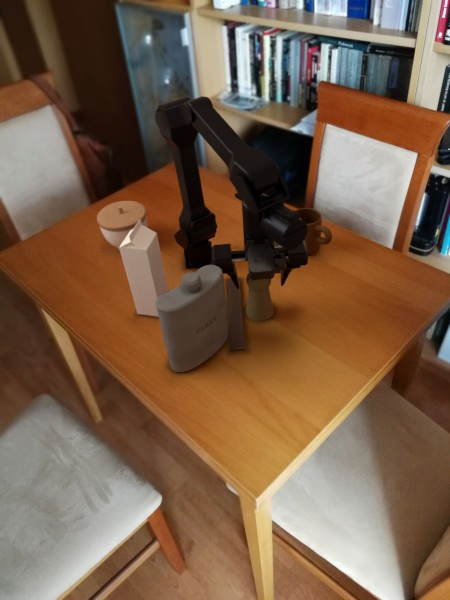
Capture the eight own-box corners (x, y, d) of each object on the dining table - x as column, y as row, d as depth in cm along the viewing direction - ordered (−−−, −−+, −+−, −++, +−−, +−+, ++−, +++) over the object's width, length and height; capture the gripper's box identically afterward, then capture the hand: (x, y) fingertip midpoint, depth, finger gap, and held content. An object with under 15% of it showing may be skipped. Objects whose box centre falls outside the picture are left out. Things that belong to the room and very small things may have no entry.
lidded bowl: (160, 243, 126) (153, 208, 119) (117, 262, 122) (106, 227, 114) (139, 223, 134) (130, 188, 127) (97, 240, 130) (86, 205, 122)
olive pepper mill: (276, 304, 107) (276, 266, 99) (269, 323, 102) (268, 285, 95) (250, 299, 108) (248, 262, 101) (242, 318, 104) (240, 280, 97)
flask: (184, 379, 93) (168, 306, 79) (165, 364, 96) (146, 291, 83) (236, 336, 100) (230, 262, 87) (217, 323, 104) (208, 250, 90)
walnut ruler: (230, 351, 97) (230, 349, 97) (227, 281, 113) (226, 278, 113) (245, 350, 97) (245, 348, 97) (239, 280, 113) (239, 277, 113)
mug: (339, 255, 118) (343, 223, 111) (317, 268, 114) (320, 236, 108) (304, 234, 125) (305, 203, 118) (283, 246, 122) (283, 215, 115)
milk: (137, 314, 107) (114, 234, 92) (146, 296, 112) (126, 217, 97) (162, 317, 106) (143, 237, 91) (171, 299, 110) (154, 219, 95)
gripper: (208, 254, 84) (216, 316, 94) (315, 246, 83) (310, 310, 94) (208, 219, 92) (215, 280, 103) (305, 211, 91) (302, 273, 102)
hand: (259, 286), depth 100 cm, fingers open, 9 cm apart
